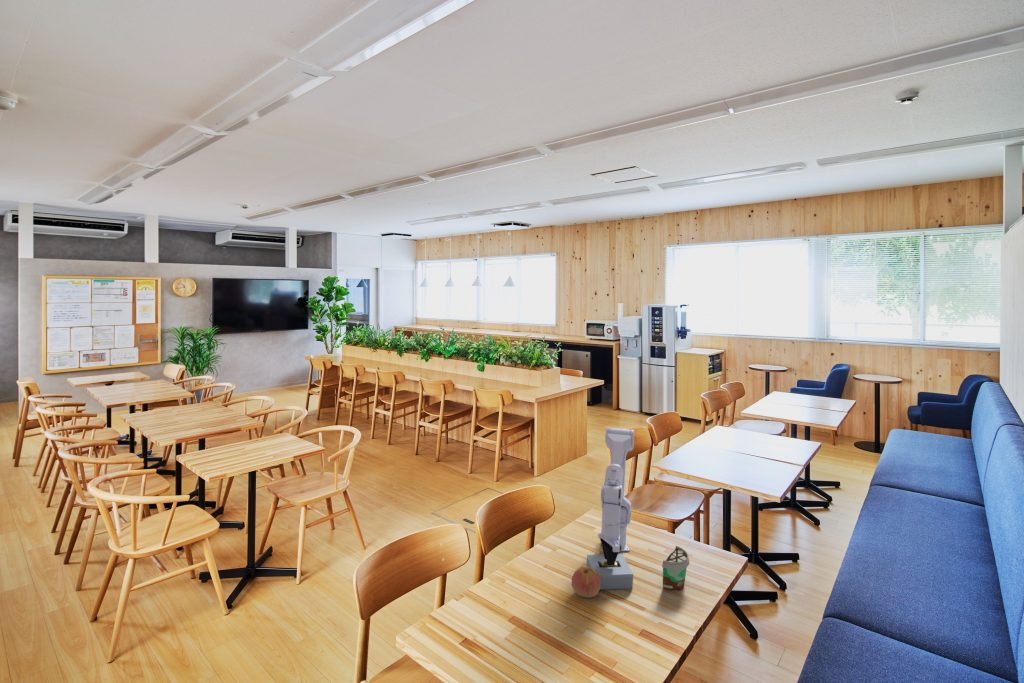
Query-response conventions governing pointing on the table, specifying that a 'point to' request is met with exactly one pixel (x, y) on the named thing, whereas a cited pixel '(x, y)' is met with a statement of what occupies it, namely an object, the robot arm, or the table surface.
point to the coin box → (612, 573)
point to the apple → (586, 582)
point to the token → (604, 564)
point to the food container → (675, 570)
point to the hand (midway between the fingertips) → (609, 561)
